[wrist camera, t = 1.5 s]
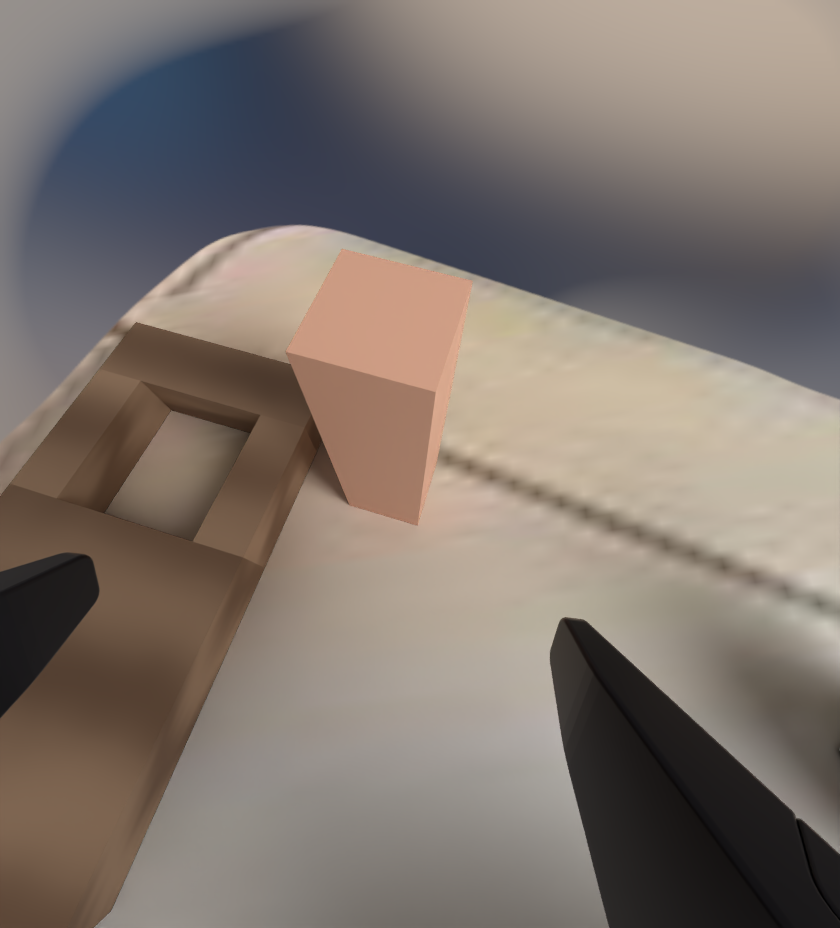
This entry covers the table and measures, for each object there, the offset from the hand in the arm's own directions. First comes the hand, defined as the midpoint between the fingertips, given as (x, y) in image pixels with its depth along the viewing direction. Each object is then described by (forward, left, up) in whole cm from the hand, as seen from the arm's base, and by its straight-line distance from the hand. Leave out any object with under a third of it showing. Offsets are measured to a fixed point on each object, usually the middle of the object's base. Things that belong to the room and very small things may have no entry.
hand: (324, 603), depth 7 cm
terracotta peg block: (+7, +1, -13) cm, 15 cm away
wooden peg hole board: (-1, +12, -13) cm, 18 cm away
